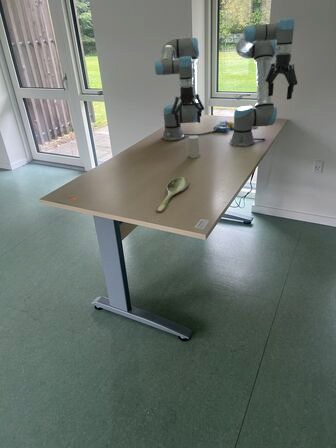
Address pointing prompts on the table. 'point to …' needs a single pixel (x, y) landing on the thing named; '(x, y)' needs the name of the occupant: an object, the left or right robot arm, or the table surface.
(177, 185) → the spoon
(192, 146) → the canister
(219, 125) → the spray gun
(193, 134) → the left robot arm
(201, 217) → the table surface
